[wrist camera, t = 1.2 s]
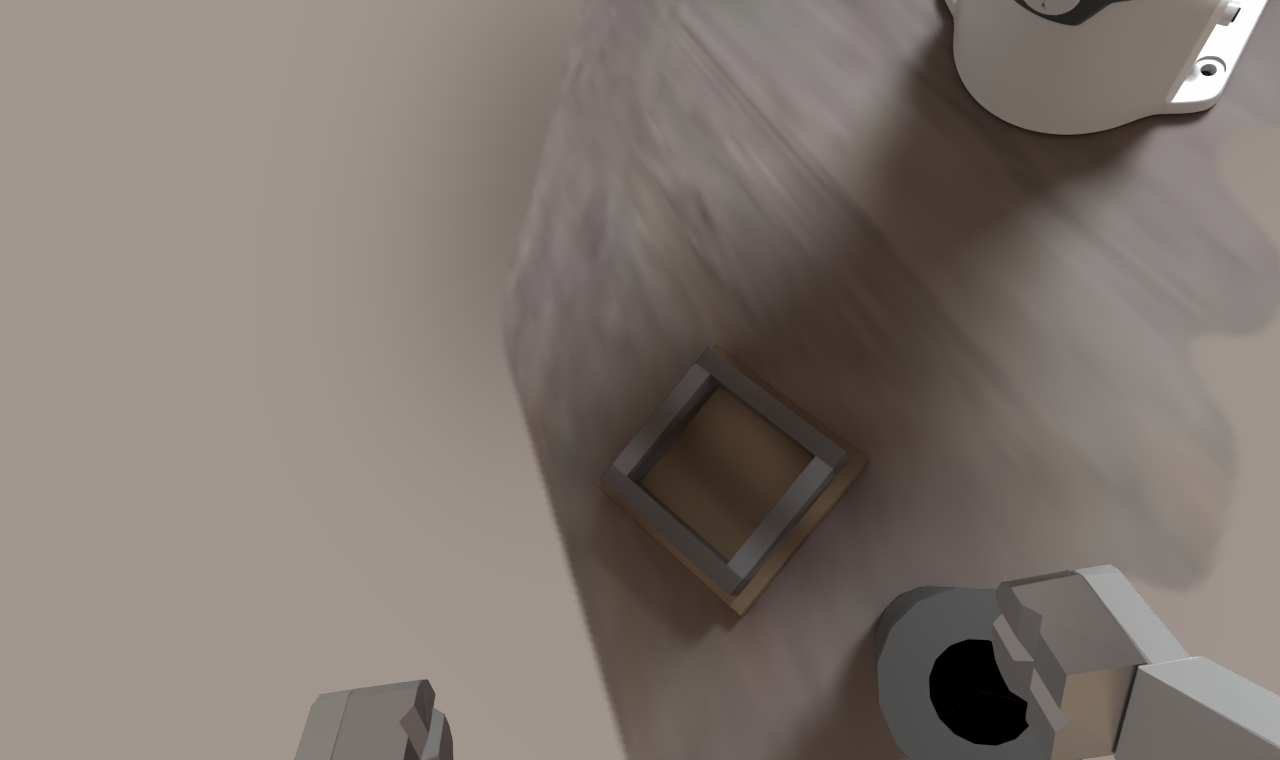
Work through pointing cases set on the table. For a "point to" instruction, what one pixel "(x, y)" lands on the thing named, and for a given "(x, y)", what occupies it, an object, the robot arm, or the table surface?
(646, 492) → the socket base
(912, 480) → the table surface
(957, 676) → the candle holder
